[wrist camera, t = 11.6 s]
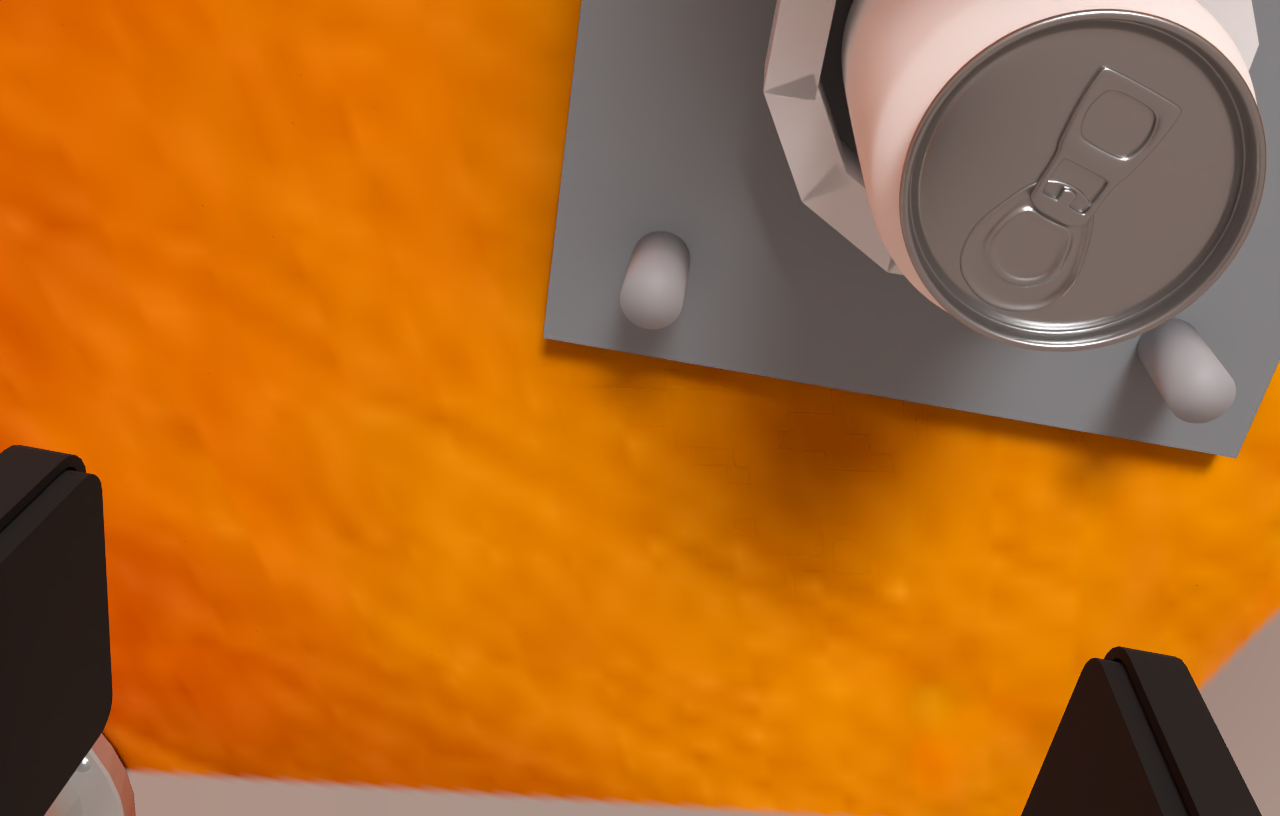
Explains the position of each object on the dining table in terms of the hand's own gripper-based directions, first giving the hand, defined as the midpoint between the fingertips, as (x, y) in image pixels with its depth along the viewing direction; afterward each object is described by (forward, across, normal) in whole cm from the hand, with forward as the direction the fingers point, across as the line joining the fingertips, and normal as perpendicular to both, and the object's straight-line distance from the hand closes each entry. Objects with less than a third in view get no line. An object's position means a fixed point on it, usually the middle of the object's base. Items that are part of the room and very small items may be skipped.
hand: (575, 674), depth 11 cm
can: (+22, -7, -3) cm, 24 cm away
